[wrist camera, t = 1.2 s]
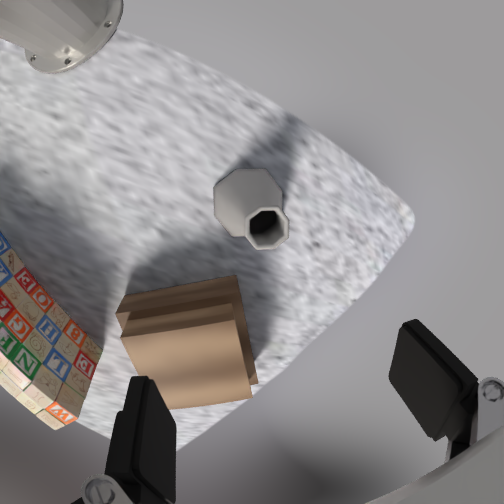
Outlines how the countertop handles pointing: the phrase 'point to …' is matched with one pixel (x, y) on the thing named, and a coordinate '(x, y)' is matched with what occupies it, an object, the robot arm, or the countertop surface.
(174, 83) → the countertop surface
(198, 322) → the stepped wooden pedestal
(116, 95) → the countertop surface
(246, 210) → the flask
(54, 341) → the stack of blocks
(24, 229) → the countertop surface
